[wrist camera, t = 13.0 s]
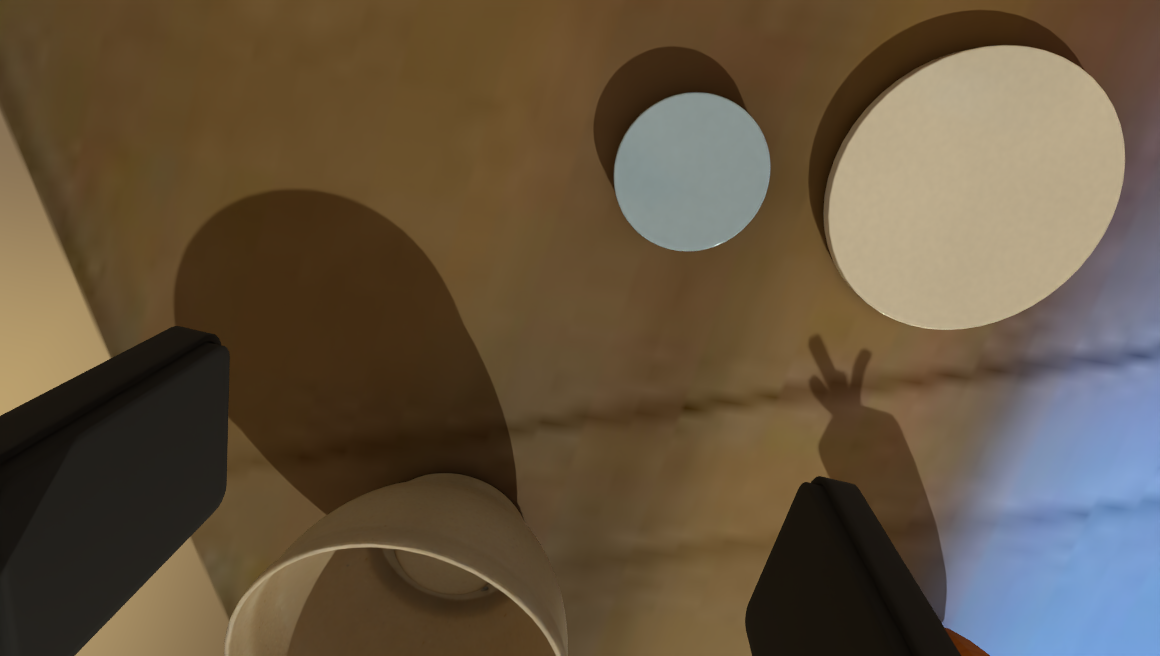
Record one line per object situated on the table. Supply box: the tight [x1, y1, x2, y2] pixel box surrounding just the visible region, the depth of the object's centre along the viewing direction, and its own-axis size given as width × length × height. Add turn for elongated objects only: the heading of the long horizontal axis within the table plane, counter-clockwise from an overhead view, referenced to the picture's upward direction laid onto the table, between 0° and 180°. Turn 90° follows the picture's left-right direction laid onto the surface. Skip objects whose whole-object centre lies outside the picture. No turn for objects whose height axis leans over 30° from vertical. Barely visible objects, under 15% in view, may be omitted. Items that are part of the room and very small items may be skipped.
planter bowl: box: [224, 473, 568, 656], centre depth 33 cm, size 16×16×11 cm
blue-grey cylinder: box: [614, 92, 770, 251], centre depth 29 cm, size 7×7×2 cm
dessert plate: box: [823, 45, 1125, 330], centre depth 29 cm, size 13×13×1 cm
